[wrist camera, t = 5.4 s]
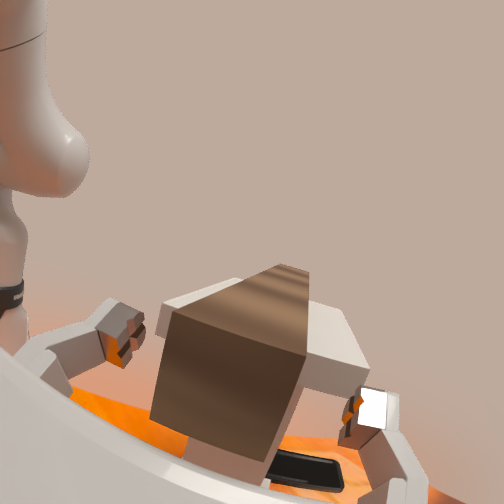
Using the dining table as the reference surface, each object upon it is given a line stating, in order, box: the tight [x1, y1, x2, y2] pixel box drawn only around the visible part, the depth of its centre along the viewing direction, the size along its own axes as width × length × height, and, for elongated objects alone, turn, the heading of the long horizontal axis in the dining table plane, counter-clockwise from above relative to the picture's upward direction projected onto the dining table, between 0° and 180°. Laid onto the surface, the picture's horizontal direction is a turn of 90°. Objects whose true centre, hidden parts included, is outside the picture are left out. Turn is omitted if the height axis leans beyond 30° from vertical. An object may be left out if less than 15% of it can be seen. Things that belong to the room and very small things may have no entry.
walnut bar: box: [149, 264, 309, 463], centre depth 19 cm, size 26×3×3 cm, turn 168°
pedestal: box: [155, 278, 370, 489], centre depth 26 cm, size 18×12×26 cm, turn 168°
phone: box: [265, 449, 344, 493], centre depth 39 cm, size 8×1×15 cm
